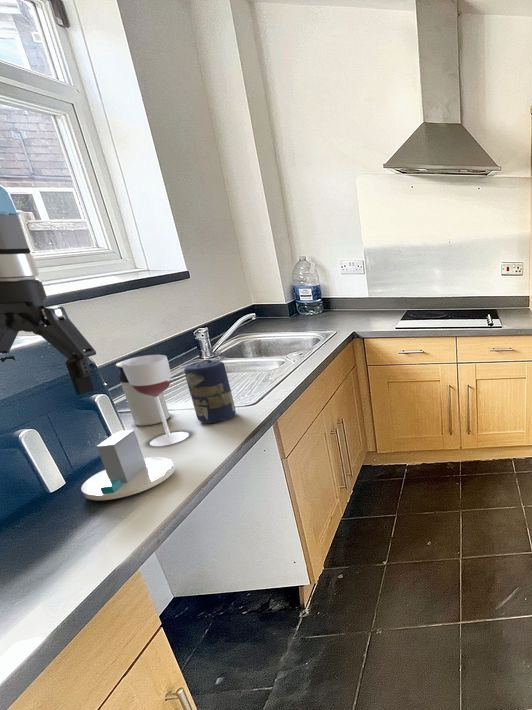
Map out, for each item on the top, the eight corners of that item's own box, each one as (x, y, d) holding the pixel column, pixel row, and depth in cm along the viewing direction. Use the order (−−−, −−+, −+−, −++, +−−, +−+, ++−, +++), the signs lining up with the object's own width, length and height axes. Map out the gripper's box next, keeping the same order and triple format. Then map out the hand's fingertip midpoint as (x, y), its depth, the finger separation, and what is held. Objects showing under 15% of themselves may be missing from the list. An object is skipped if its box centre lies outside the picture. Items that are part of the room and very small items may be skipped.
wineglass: (188, 427, 117) (166, 352, 109) (191, 440, 110) (167, 360, 102) (148, 437, 111) (121, 358, 104) (148, 450, 104) (120, 367, 97)
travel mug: (174, 418, 122) (156, 360, 116) (141, 428, 116) (120, 367, 110) (164, 412, 126) (146, 356, 120) (130, 422, 120) (110, 362, 114)
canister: (190, 423, 119) (172, 363, 113) (219, 410, 128) (204, 354, 122) (217, 427, 117) (200, 366, 111) (244, 413, 126) (230, 356, 120)
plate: (112, 466, 95) (96, 426, 92) (187, 458, 99) (175, 419, 95) (63, 505, 82) (43, 460, 78) (152, 494, 85) (137, 450, 81)
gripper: (-91, 278, 70) (-37, 396, 77) (56, 283, 69) (96, 400, 76) (-34, 274, 77) (10, 382, 84) (99, 278, 76) (131, 386, 84)
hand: (51, 391), depth 80 cm, fingers open, 13 cm apart
